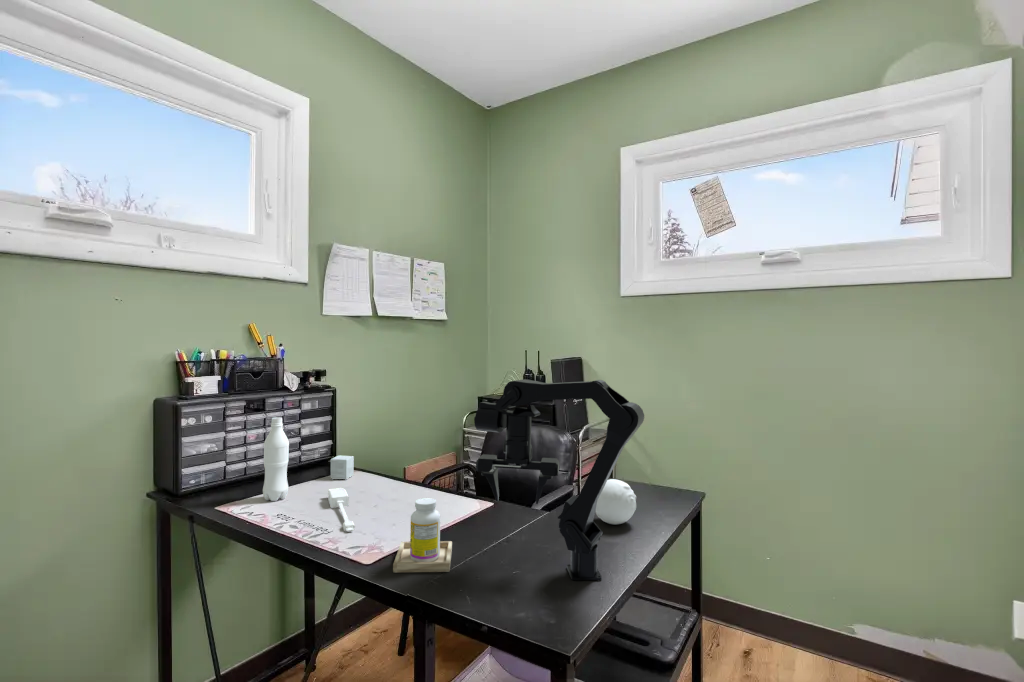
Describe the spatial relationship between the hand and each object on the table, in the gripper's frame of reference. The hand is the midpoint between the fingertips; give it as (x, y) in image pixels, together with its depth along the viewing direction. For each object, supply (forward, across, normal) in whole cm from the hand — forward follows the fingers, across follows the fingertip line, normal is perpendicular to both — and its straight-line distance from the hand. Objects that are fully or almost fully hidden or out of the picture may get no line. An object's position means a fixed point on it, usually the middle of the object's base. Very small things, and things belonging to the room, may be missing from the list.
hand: (517, 502), depth 116 cm
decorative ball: (+13, -23, -28) cm, 39 cm away
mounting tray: (+13, +20, +5) cm, 25 cm away
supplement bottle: (+13, +20, +5) cm, 24 cm away
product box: (+14, +71, -54) cm, 90 cm away
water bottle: (+13, +79, -28) cm, 85 cm away
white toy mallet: (+14, +54, -21) cm, 59 cm away
